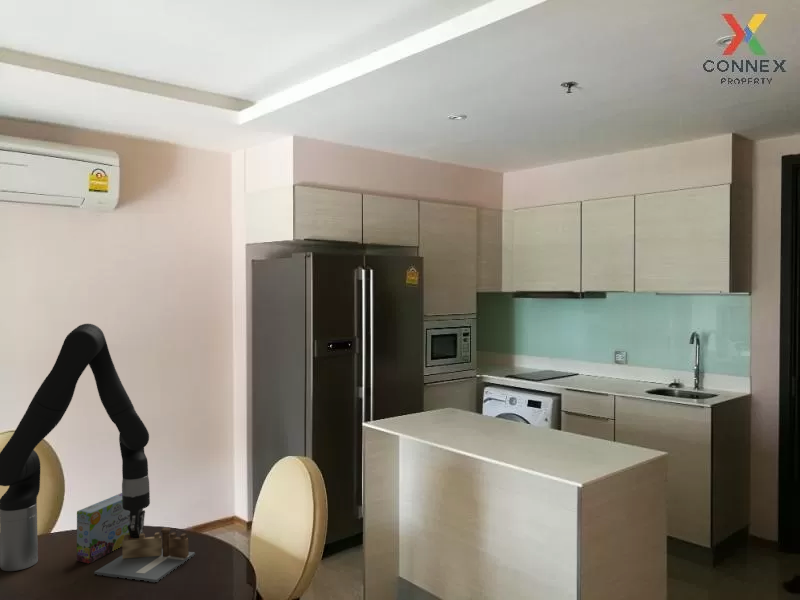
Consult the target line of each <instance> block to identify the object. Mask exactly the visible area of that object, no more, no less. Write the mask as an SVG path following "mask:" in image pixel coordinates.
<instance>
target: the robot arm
mask: <svg viewBox="0 0 800 600" xmlns="http://www.w3.org/2000/svg"><path fill="white" fill-rule="evenodd" d="M61 345H62V346H61V349H60V351H59V352H58V355H57V357H56V360H55V362H54V364H53V366H52V368H51V370H50V371H49V373H48V375H47V376H46V377H45V379H44V380H43V381H42V383H41V384H40V386H39V388H38V389H37V391H36V393H35V394H34V396H33V398H32V399H31V401H30V403H29V405H28V407H27V409H26V411H25V413H24V414H23V415H22V418H21V419H20V420H19V423H18V425H17V427H16V428H15V430H14V432H13V433H12V435H11V437H10V438H9V439H8V441H7V443H5V446H4V447H3V448H2V449H1V451H0V486H1V487H8V488H7V490H6V491H5V493H3V495H2V496H1V497H0V570H2V571H5V572H15V571H21V570H24V569H28V568H31V567H32V566H34V565H36V564H37V563H38V561H39V554H38V551H39V550H38V548H39V545H38V541H39V540H38V504H37V503H38V502H37V501H38V499H37V498H38V495H39V493H40V488H41V461H40V460H41V459H40V456H39V455H38V453H37V452H36V450H35V448H36V447H37V446H38V445H39V444H40V442H41V441H43V440H44V439H45V438H47V436H48V435H49V434H50V433H51V432H52V431H53V430H54V429H55V428H56V427H57V426H58V424H60V422H61V420H62V419H63V417H64V415H65V413H66V411H67V410H68V408H69V406H70V405H71V402H72V400H73V397H74V394H75V390H76V387H77V384H78V381H79V379H80V378H81V376H82V375H83V373H84V371H85V370H86V368H87V367H88V366H89V367H90V370H91V372H92V375H93V378H94V381H95V385H96V389H97V392H98V396H99V400H100V402H101V404H102V406H103V407H104V410H105V412H106V413H107V416H108V417H109V419H110V420H111V421H112V422H113V424H114V425H115V427H116V428H117V430H118V433H119V437H118V441H119V449H120V450H119V451H120V456H121V459H122V461H121V463H122V465H121V467H122V470H121V472H122V474H121V475H122V480H121V493H122V507H123V509H124V510H128V511H130V515H129V516H128V521H129V525H128V530H129V534H130V537H131V538H139V535H140V534H142V533H144V532H143V530H144V527H145V517H146V510H144V509H146V508H147V507H149V506H150V503H151V499H150V497H151V496H150V492H151V491H150V478H149V464H148V457H147V456H146V453H145V447H147V445H148V443H149V440H150V433H149V430H148V429H147V427H146V425H145V423H144V422H143V420H142V419H141V417H140V416H139V415H138V413H137V411H136V409H135V407H134V404H133V403H132V400H131V399H130V397H129V395H128V393H127V391H126V389H125V387H124V385H123V383H122V381H121V379H120V376H119V373H118V371H117V369H116V366H115V363H114V362H113V359H112V356H111V354H110V349H109V347H108V343H107V340H106V336H105V334H104V332H103V330H102V329H101V328H100V327H99V326H97V325H95V324H93V323H83V324H80V325H78V326H77V327H75V328H74V329H73V330H71V331H70V332H69V333H68V334H67V335H66V337H65V339H64V340H63V343H62V344H61Z"/></svg>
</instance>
